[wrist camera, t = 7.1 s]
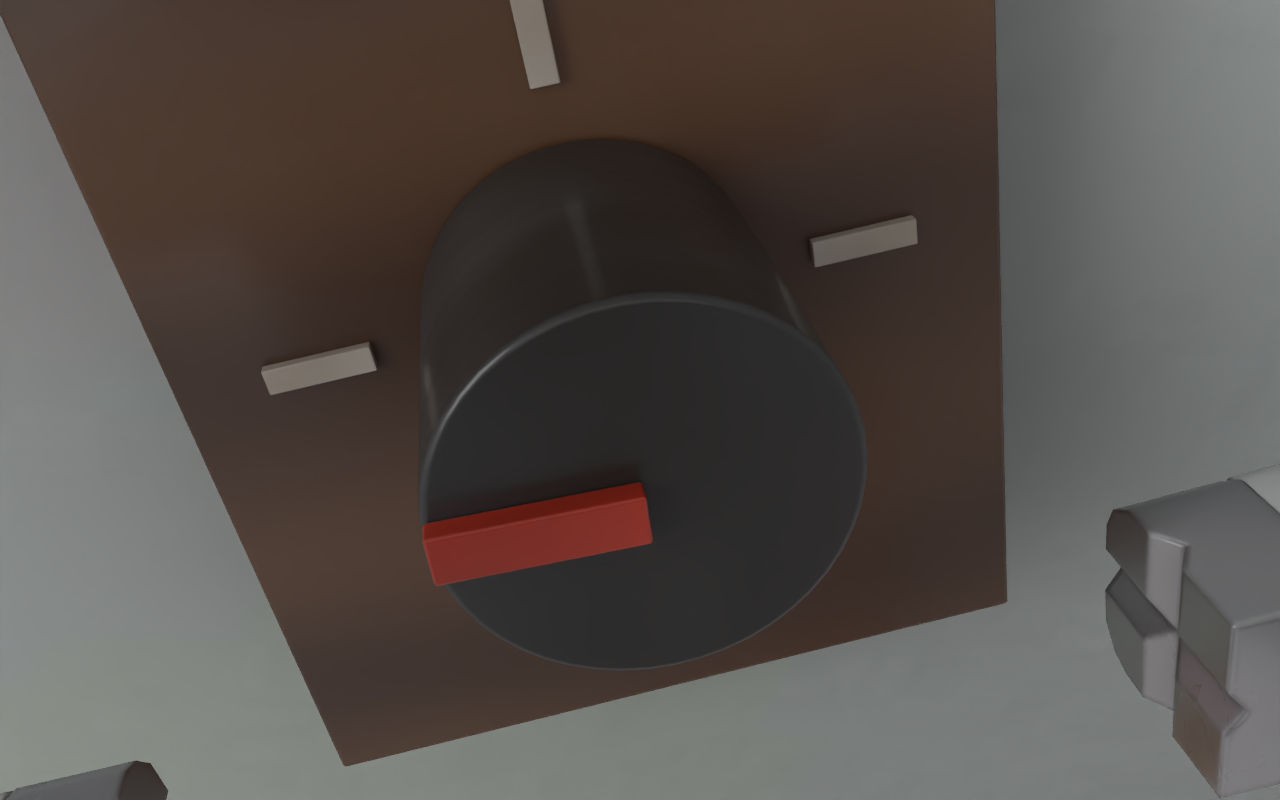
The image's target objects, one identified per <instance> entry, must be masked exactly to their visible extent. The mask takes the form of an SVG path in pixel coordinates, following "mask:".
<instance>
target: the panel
mask: <svg viewBox="0 0 1280 800" xmlns="http://www.w3.org/2000/svg"><path fill="white" fill-rule="evenodd" d="M0 15H1V17H2V19H3V22H4V24H5V26H6V28H7V30H8V33H9V35H10V37H11V39H12V41H13V43H14V46H15V48H16V50H17V52H18V54H19V57H20V59H21V61H22V63H23V65H24V68H25V70H26V72H27V74H28V76H29V78H30V81H31V83H32V85H33V87H34V89H35V92H36V94H37V96H38V98H39V100H40V103H41V105H42V107H43V109H44V111H45V113H46V116H47V118H48V120H49V122H50V124H51V127H52V129H53V131H54V133H55V135H56V138H57V140H58V142H59V144H60V146H61V148H62V151H63V153H64V155H65V157H66V159H67V162H68V164H69V166H70V168H71V170H72V173H73V175H74V177H75V179H76V181H77V183H78V186H79V188H80V190H81V192H82V194H83V197H84V199H85V201H86V203H87V205H88V208H89V210H90V212H91V214H92V216H93V218H94V221H95V223H96V225H97V227H98V229H99V232H100V234H101V236H102V238H103V240H104V243H105V245H106V247H107V249H108V251H109V253H110V256H111V258H112V260H113V262H114V264H115V267H116V269H117V271H118V273H119V275H120V278H121V280H122V282H123V284H124V286H125V288H126V291H127V293H128V295H129V297H130V299H131V302H132V304H133V306H134V308H135V310H136V313H137V315H138V317H139V319H140V321H141V323H142V326H143V328H144V330H145V332H146V334H147V337H148V339H149V341H150V343H151V345H152V348H153V350H154V352H155V354H156V356H157V358H158V361H159V363H160V365H161V367H162V369H163V372H164V374H165V376H166V378H167V380H168V383H169V385H170V387H171V389H172V391H173V393H174V396H175V398H176V400H177V402H178V404H179V407H180V409H181V411H182V413H183V415H184V418H185V420H186V422H187V424H188V426H189V428H190V431H191V433H192V435H193V437H194V439H195V442H196V444H197V446H198V448H199V450H200V453H201V455H202V457H203V459H204V461H205V463H206V466H207V468H208V470H209V472H210V474H211V477H212V479H213V481H214V483H215V485H216V488H217V490H218V492H219V494H220V496H221V498H222V501H223V503H224V505H225V507H226V509H227V512H228V514H229V516H230V518H231V520H232V523H233V525H234V527H235V529H236V531H237V533H238V536H239V538H240V540H241V542H242V544H243V547H244V549H245V551H246V553H247V555H248V558H249V560H250V562H251V564H252V566H253V568H254V571H255V573H256V575H257V577H258V579H259V582H260V584H261V586H262V588H263V590H264V593H265V595H266V597H267V599H268V601H269V603H270V606H271V608H272V610H273V612H274V614H275V617H276V619H277V621H278V623H279V625H280V628H281V630H282V632H283V634H284V636H285V638H286V641H287V643H288V645H289V647H290V649H291V652H292V654H293V656H294V658H295V660H296V663H297V665H298V667H299V669H300V671H301V673H302V676H303V678H304V680H305V682H306V684H307V687H308V689H309V691H310V693H311V695H312V698H313V700H314V702H315V704H316V706H317V708H318V711H319V713H320V715H321V717H322V719H323V722H324V724H325V726H326V728H327V730H328V733H329V735H330V737H331V739H332V741H333V743H334V746H335V748H336V750H337V752H338V754H339V757H340V759H341V761H342V763H343V765H344V766H350V765H354V764H358V763H362V762H366V761H370V760H374V759H378V758H382V757H386V756H390V755H394V754H398V753H402V752H406V751H410V750H415V749H419V748H423V747H427V746H431V745H435V744H439V743H443V742H447V741H451V740H455V739H459V738H463V737H467V736H471V735H475V734H479V733H483V732H487V731H491V730H495V729H499V728H503V727H507V726H511V725H515V724H519V723H523V722H527V721H531V720H535V719H540V718H544V717H548V716H552V715H556V714H560V713H564V712H568V711H572V710H576V709H580V708H584V707H588V706H592V705H596V704H600V703H604V702H608V701H612V700H616V699H620V698H624V697H628V696H632V695H636V694H640V693H644V692H648V691H652V690H656V689H660V688H665V687H669V686H673V685H677V684H681V683H685V682H689V681H693V680H697V679H701V678H705V677H709V676H713V675H717V674H721V673H725V672H729V671H733V670H737V669H741V668H745V667H749V666H753V665H757V664H761V663H765V662H769V661H773V660H777V659H781V658H786V657H790V656H794V655H798V654H802V653H806V652H810V651H814V650H818V649H822V648H826V647H830V646H834V645H838V644H842V643H846V642H850V641H854V640H858V639H862V638H866V637H870V636H874V635H878V634H882V633H886V632H890V631H894V630H898V629H902V628H906V627H911V626H915V625H919V624H923V623H927V622H931V621H935V620H939V619H943V618H947V617H951V616H955V615H959V614H963V613H967V612H971V611H975V610H979V609H983V608H987V607H991V606H995V605H999V604H1003V603H1006V602H1007V573H1006V523H1005V474H1004V424H1003V375H1002V325H1001V276H1000V226H999V177H998V127H997V78H996V28H995V0H0ZM590 139H605V140H621V141H628V142H634V143H640V144H644V145H647V146H651V147H654V148H657V149H661V150H663V151H666V152H668V153H670V154H672V155H675V156H677V157H679V158H681V159H683V160H685V161H687V162H688V163H690V164H691V165H693V166H695V167H696V168H698V169H699V170H701V171H702V172H704V173H705V174H706V175H707V176H708V177H709V178H711V179H712V180H713V181H714V182H715V183H717V184H718V185H719V186H720V187H721V188H722V190H723V191H724V192H725V193H726V194H727V195H728V196H729V197H730V198H731V200H732V201H733V202H734V204H735V205H736V207H737V208H738V210H739V211H740V213H741V214H742V216H743V217H744V219H745V220H746V222H747V224H748V225H749V227H750V228H751V230H752V232H753V233H754V235H755V236H756V238H757V240H758V241H759V243H760V244H761V246H762V247H763V249H764V251H765V252H766V254H767V255H768V257H769V259H770V260H771V262H772V263H773V265H774V267H775V268H776V270H777V271H778V273H779V275H780V276H781V278H782V279H783V281H784V282H785V284H786V286H787V287H788V289H789V290H790V292H791V294H792V295H793V297H794V298H795V300H796V302H797V303H798V305H799V306H800V308H801V309H802V311H803V313H804V314H805V316H806V317H807V319H808V321H809V322H810V324H811V325H812V327H813V329H814V330H815V332H816V333H817V335H818V336H819V338H820V340H821V341H822V343H823V344H824V346H825V348H826V349H827V351H828V352H829V354H830V356H831V357H832V359H833V360H834V362H835V363H836V365H837V367H838V368H839V370H840V371H841V373H842V375H843V376H844V378H845V379H846V381H847V383H848V384H849V386H850V389H851V391H852V393H853V395H854V397H855V400H856V402H857V404H858V406H859V410H860V413H861V417H862V421H863V424H864V428H865V434H866V443H867V452H868V457H867V478H866V484H865V490H864V495H863V500H862V505H861V508H860V511H859V514H858V517H857V520H856V522H855V525H854V528H853V530H852V532H851V534H850V536H849V538H848V540H847V542H846V544H845V546H844V548H843V550H842V552H841V553H840V555H839V556H838V558H837V559H836V561H835V562H834V564H833V565H832V567H831V568H830V570H829V571H828V572H827V574H826V575H825V576H824V577H823V578H822V579H821V581H820V582H819V583H818V584H817V585H816V586H815V588H814V589H813V590H812V591H811V592H810V593H809V594H808V595H807V596H806V597H805V598H803V599H802V600H801V601H800V602H799V603H798V604H797V605H796V606H795V607H794V608H793V609H791V610H790V611H789V612H787V613H786V614H785V615H783V616H782V617H781V618H780V619H778V620H777V621H776V622H774V623H773V624H771V625H770V626H768V627H766V628H765V629H763V630H762V631H760V632H758V633H757V634H755V635H753V636H752V637H750V638H748V639H746V640H744V641H742V642H740V643H737V644H735V645H733V646H731V647H729V648H727V649H725V650H722V651H719V652H716V653H714V654H711V655H708V656H705V657H703V658H700V659H696V660H692V661H688V662H684V663H680V664H676V665H671V666H665V667H658V668H652V669H641V670H624V671H619V670H596V669H589V668H582V667H575V666H569V665H565V664H561V663H558V662H554V661H550V660H546V659H543V658H541V657H538V656H535V655H533V654H530V653H528V652H525V651H523V650H520V649H518V648H517V647H515V646H513V645H511V644H509V643H507V642H505V641H504V640H502V639H500V638H498V637H497V636H496V635H494V634H493V633H491V632H490V631H489V630H487V629H486V628H484V627H483V626H482V625H480V624H479V623H478V622H477V621H476V620H475V619H474V618H473V617H471V616H470V615H469V614H468V613H467V612H466V611H465V610H464V609H463V608H462V607H461V606H460V605H459V603H458V602H457V601H456V600H455V598H454V597H453V596H452V594H451V593H450V592H449V591H448V589H447V588H446V587H445V585H440V586H436V585H435V584H434V582H433V578H432V575H431V571H430V568H429V564H428V561H427V557H426V554H425V550H424V546H423V543H422V530H421V525H420V520H419V505H418V463H419V397H420V332H421V293H422V284H423V276H424V272H425V268H426V265H427V261H428V257H429V254H430V252H431V249H432V247H433V245H434V243H435V240H436V238H437V236H438V234H439V232H440V230H441V229H442V227H443V225H444V224H445V222H446V220H447V219H448V217H449V216H450V214H451V213H452V212H453V211H454V209H455V208H456V207H457V206H458V204H459V203H460V202H461V201H462V200H463V198H464V197H465V196H466V195H467V194H468V193H469V192H471V191H472V190H473V189H474V188H475V187H476V186H477V185H478V184H479V183H480V182H481V181H483V180H484V179H485V178H487V177H488V176H490V175H491V174H492V173H494V172H495V171H497V170H498V169H499V168H501V167H503V166H504V165H506V164H508V163H510V162H512V161H514V160H516V159H518V158H519V157H521V156H524V155H526V154H529V153H531V152H534V151H537V150H539V149H542V148H545V147H549V146H553V145H557V144H561V143H565V142H571V141H581V140H590Z"/></svg>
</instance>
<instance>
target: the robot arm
mask: <svg viewBox="0 0 1280 800" xmlns="http://www.w3.org/2000/svg"><path fill="white" fill-rule="evenodd" d="M1106 549H1107V551H1108V552H1109V553H1110V554H1111V555H1112V557H1113V558H1114V559H1115V560H1116V561H1117V563H1118V564H1119V565H1120V566H1121V568H1120V570H1119V571H1118V573H1117V574H1116V576H1115V577H1114V578H1113V580H1112V581H1111V583H1110V584H1109V585H1108V587H1107V588H1106V590H1105V592H1106V621H1107V625H1108V628H1109V632H1110V635H1111V639H1112V642H1113V646H1114V649H1115V652H1116V654H1117V656H1118V658H1119V660H1120V662H1121V664H1122V666H1123V668H1124V670H1125V672H1126V674H1127V675H1128V677H1129V678H1130V679H1131V681H1132V682H1133V683H1134V685H1135V686H1136V688H1137V689H1138V690H1139V692H1140V693H1141V695H1142V696H1143V697H1145V698H1147V699H1150V700H1152V701H1154V702H1156V703H1158V704H1161V705H1163V706H1165V707H1167V708H1169V709H1172V710H1174V715H1173V737H1174V739H1175V740H1176V741H1177V743H1178V744H1179V745H1180V746H1181V748H1182V749H1183V750H1184V752H1185V753H1186V754H1187V756H1188V757H1189V758H1190V760H1191V761H1192V762H1193V763H1194V765H1195V766H1196V767H1197V769H1198V770H1199V771H1200V773H1201V774H1202V775H1203V777H1204V778H1205V779H1206V781H1207V782H1208V783H1209V784H1210V786H1211V787H1212V788H1213V790H1214V791H1215V792H1216V794H1217V795H1218V796H1219V798H1222V797H1226V796H1231V795H1235V794H1239V793H1243V792H1247V791H1252V790H1256V789H1260V788H1264V787H1268V786H1273V785H1277V784H1280V464H1278V465H1274V466H1271V467H1267V468H1263V469H1260V470H1256V471H1253V472H1249V473H1245V474H1242V475H1238V476H1235V477H1231V478H1229V479H1227V480H1226V481H1220V482H1216V483H1212V484H1209V485H1205V486H1201V487H1197V488H1194V489H1190V490H1186V491H1182V492H1178V493H1175V494H1171V495H1167V496H1163V497H1160V498H1156V499H1152V500H1148V501H1144V502H1141V503H1137V504H1133V505H1129V506H1125V507H1122V508H1118V509H1114V510H1113V511H1112V513H1111V516H1110V518H1109V521H1108V523H1107V536H1106ZM167 794H168V790H167V788H166V787H165V785H164V784H163V782H162V780H161V779H160V777H159V776H158V774H157V773H156V771H155V770H154V768H153V767H152V765H151V763H145V762H140V761H132V762H128V763H124V764H120V765H115V766H111V767H107V768H102V769H98V770H94V771H89V772H85V773H81V774H77V775H72V776H68V777H64V778H59V779H55V780H51V781H46V782H42V783H38V784H34V785H29V786H25V787H21V788H16V789H15V790H14V791H10V792H5V793H1V794H0V800H166V798H167Z"/></svg>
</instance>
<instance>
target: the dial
mask: <svg viewBox="0 0 1280 800" xmlns="http://www.w3.org/2000/svg"><path fill="white" fill-rule="evenodd" d="M867 457H868V452H867V443H866V434H865V428H864V424H863V421H862V417H861V413H860V410H859V406H858V404H857V402H856V400H855V397H854V395H853V393H852V391H851V389H850V386H849V384H848V383H847V381H846V379H845V378H844V376H843V375H842V373H841V371H840V370H839V368H838V367H837V365H836V363H835V362H834V360H833V359H832V357H831V356H830V354H829V352H828V351H827V349H826V348H825V346H824V344H823V343H822V341H821V340H820V338H819V336H818V335H817V333H816V332H815V330H814V329H813V327H812V325H811V324H810V322H809V321H808V319H807V317H806V316H805V314H804V313H803V311H802V309H801V308H800V306H799V305H798V303H797V302H796V300H795V298H794V297H793V295H792V294H791V292H790V290H789V289H788V287H787V286H786V284H785V282H784V281H783V279H782V278H781V276H780V275H779V273H778V271H777V270H776V268H775V267H774V265H773V263H772V262H771V260H770V259H769V257H768V255H767V254H766V252H765V251H764V249H763V247H762V246H761V244H760V243H759V241H758V240H757V238H756V236H755V235H754V233H753V232H752V230H751V228H750V227H749V225H748V224H747V222H746V220H745V219H744V217H743V216H742V214H741V213H740V211H739V210H738V208H737V207H736V205H735V204H734V202H733V201H732V200H731V198H730V197H729V196H728V195H727V194H726V193H725V192H724V191H723V190H722V188H721V187H720V186H719V185H718V184H717V183H715V182H714V181H713V180H712V179H711V178H709V177H708V176H707V175H706V174H705V173H704V172H702V171H701V170H699V169H698V168H696V167H695V166H693V165H691V164H690V163H688V162H687V161H685V160H683V159H681V158H679V157H677V156H675V155H672V154H670V153H668V152H666V151H663V150H661V149H657V148H654V147H651V146H647V145H644V144H640V143H634V142H628V141H621V140H605V139H590V140H581V141H571V142H565V143H561V144H557V145H553V146H549V147H545V148H542V149H539V150H537V151H534V152H531V153H529V154H526V155H524V156H521V157H519V158H518V159H516V160H514V161H512V162H510V163H508V164H506V165H504V166H503V167H501V168H499V169H498V170H497V171H495V172H494V173H492V174H491V175H490V176H488V177H487V178H485V179H484V180H483V181H481V182H480V183H479V184H478V185H477V186H476V187H475V188H474V189H473V190H472V191H471V192H469V193H468V194H467V195H466V196H465V197H464V198H463V200H462V201H461V202H460V203H459V204H458V206H457V207H456V208H455V209H454V211H453V212H452V213H451V214H450V216H449V217H448V219H447V220H446V222H445V224H444V225H443V227H442V229H441V230H440V232H439V234H438V236H437V238H436V240H435V243H434V245H433V247H432V249H431V252H430V254H429V257H428V261H427V265H426V268H425V272H424V276H423V284H422V293H421V332H420V397H419V463H418V505H419V520H420V525H421V530H422V543H423V546H424V550H425V554H426V557H427V561H428V564H429V568H430V571H431V575H432V578H433V582H434V584H435V585H436V586H440V585H445V587H446V588H447V589H448V591H449V592H450V593H451V594H452V596H453V597H454V598H455V600H456V601H457V602H458V603H459V605H460V606H461V607H462V608H463V609H464V610H465V611H466V612H467V613H468V614H469V615H470V616H471V617H473V618H474V619H475V620H476V621H477V622H478V623H479V624H480V625H482V626H483V627H484V628H486V629H487V630H489V631H490V632H491V633H493V634H494V635H496V636H497V637H498V638H500V639H502V640H504V641H505V642H507V643H509V644H511V645H513V646H515V647H517V648H518V649H520V650H523V651H525V652H528V653H530V654H533V655H535V656H538V657H541V658H543V659H546V660H550V661H554V662H558V663H561V664H565V665H569V666H575V667H582V668H589V669H596V670H619V671H624V670H641V669H652V668H658V667H665V666H671V665H676V664H680V663H684V662H688V661H692V660H696V659H700V658H703V657H705V656H708V655H711V654H714V653H716V652H719V651H722V650H725V649H727V648H729V647H731V646H733V645H735V644H737V643H740V642H742V641H744V640H746V639H748V638H750V637H752V636H753V635H755V634H757V633H758V632H760V631H762V630H763V629H765V628H766V627H768V626H770V625H771V624H773V623H774V622H776V621H777V620H778V619H780V618H781V617H782V616H783V615H785V614H786V613H787V612H789V611H790V610H791V609H793V608H794V607H795V606H796V605H797V604H798V603H799V602H800V601H801V600H802V599H803V598H805V597H806V596H807V595H808V594H809V593H810V592H811V591H812V590H813V589H814V588H815V586H816V585H817V584H818V583H819V582H820V581H821V579H822V578H823V577H824V576H825V575H826V574H827V572H828V571H829V570H830V568H831V567H832V565H833V564H834V562H835V561H836V559H837V558H838V556H839V555H840V553H841V552H842V550H843V548H844V546H845V544H846V542H847V540H848V538H849V536H850V534H851V532H852V530H853V528H854V525H855V522H856V520H857V517H858V514H859V511H860V508H861V505H862V500H863V495H864V490H865V484H866V478H867Z"/></svg>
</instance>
